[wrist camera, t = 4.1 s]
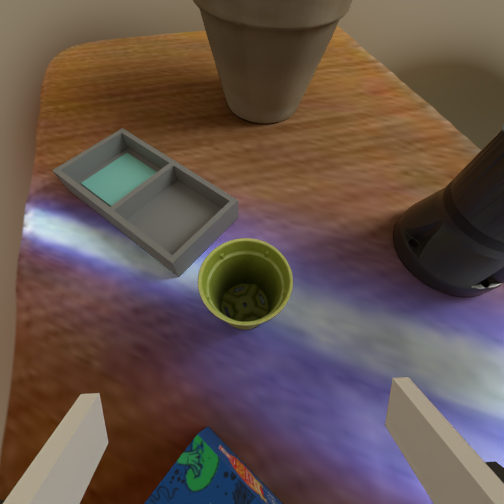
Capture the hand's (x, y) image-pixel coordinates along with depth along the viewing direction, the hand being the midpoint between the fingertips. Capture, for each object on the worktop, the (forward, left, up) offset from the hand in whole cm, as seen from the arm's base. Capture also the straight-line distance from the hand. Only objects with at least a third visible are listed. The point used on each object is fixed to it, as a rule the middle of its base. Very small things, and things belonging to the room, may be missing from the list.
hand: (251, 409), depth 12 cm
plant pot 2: (-9, -7, -19) cm, 22 cm away
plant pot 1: (-46, -31, -19) cm, 58 cm away
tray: (-13, -28, -19) cm, 36 cm away
